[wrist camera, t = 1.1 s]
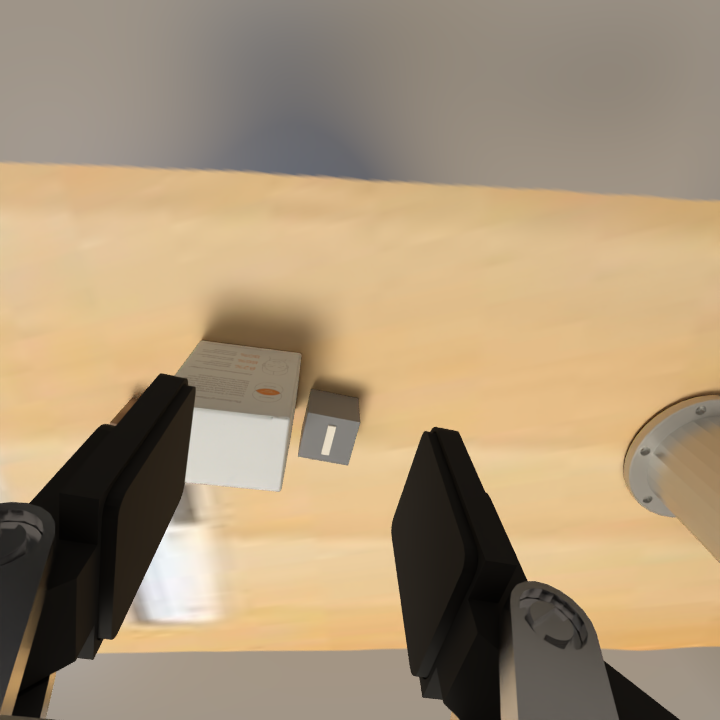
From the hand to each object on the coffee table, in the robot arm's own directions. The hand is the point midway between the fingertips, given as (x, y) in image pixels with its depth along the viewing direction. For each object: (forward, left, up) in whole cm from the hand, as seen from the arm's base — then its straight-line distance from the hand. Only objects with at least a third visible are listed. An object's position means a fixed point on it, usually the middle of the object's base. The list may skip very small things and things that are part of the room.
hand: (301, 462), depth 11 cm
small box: (+4, +11, -26) cm, 28 cm away
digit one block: (-3, +13, -26) cm, 29 cm away
